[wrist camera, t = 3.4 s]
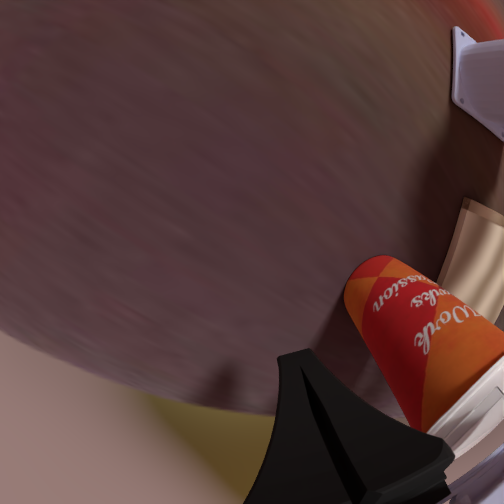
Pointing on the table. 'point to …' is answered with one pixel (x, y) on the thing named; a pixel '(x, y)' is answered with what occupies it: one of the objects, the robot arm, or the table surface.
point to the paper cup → (430, 351)
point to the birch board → (476, 260)
